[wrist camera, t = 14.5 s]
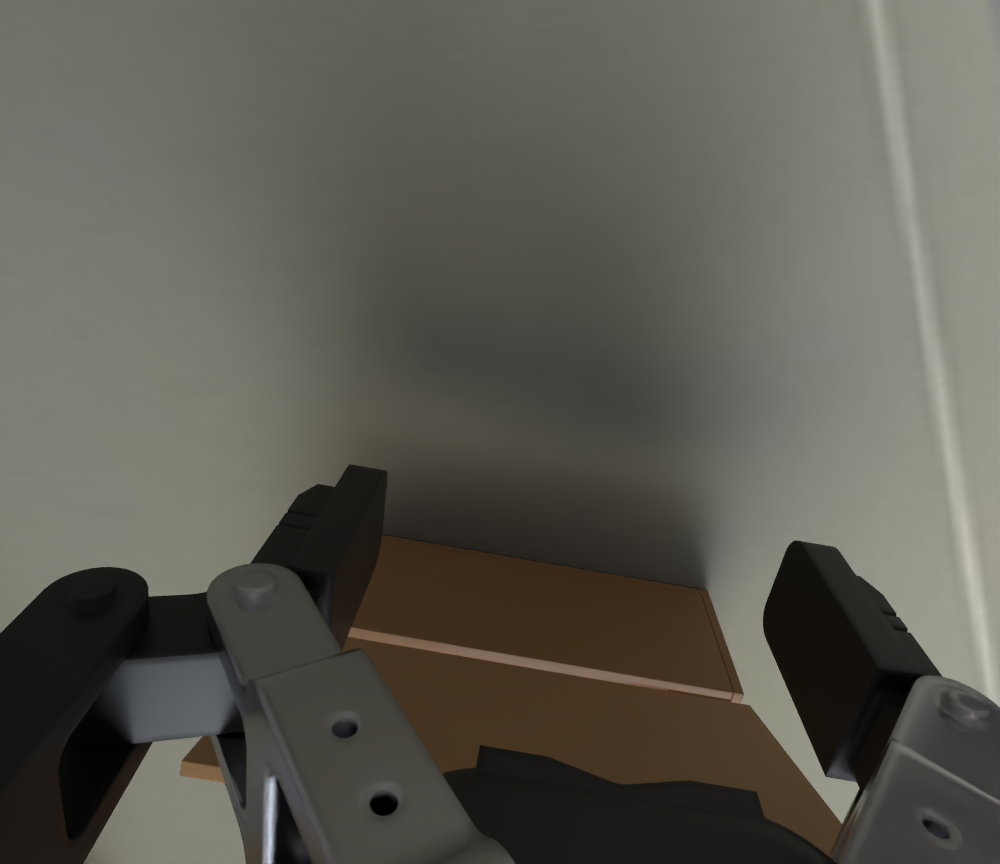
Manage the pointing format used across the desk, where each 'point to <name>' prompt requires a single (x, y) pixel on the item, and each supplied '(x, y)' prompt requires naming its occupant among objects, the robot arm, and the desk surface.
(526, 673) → the flap
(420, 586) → the carton
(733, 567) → the desk surface
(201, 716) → the robot arm
